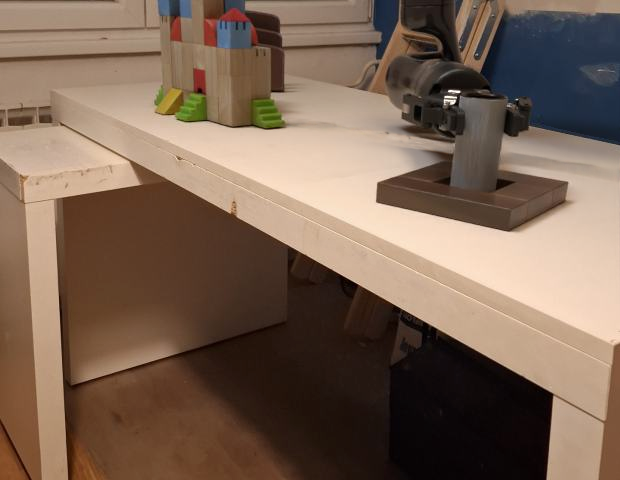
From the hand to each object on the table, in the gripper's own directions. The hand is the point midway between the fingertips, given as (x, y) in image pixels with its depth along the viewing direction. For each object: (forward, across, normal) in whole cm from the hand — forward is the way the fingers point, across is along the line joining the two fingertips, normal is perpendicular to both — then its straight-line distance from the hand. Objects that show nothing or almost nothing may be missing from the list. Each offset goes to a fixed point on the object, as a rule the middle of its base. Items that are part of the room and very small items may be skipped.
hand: (488, 124), depth 71 cm
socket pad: (-3, 0, +8) cm, 8 cm away
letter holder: (-84, -28, +8) cm, 89 cm away
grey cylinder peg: (-3, 0, +8) cm, 9 cm away
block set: (-51, -30, +8) cm, 60 cm away
